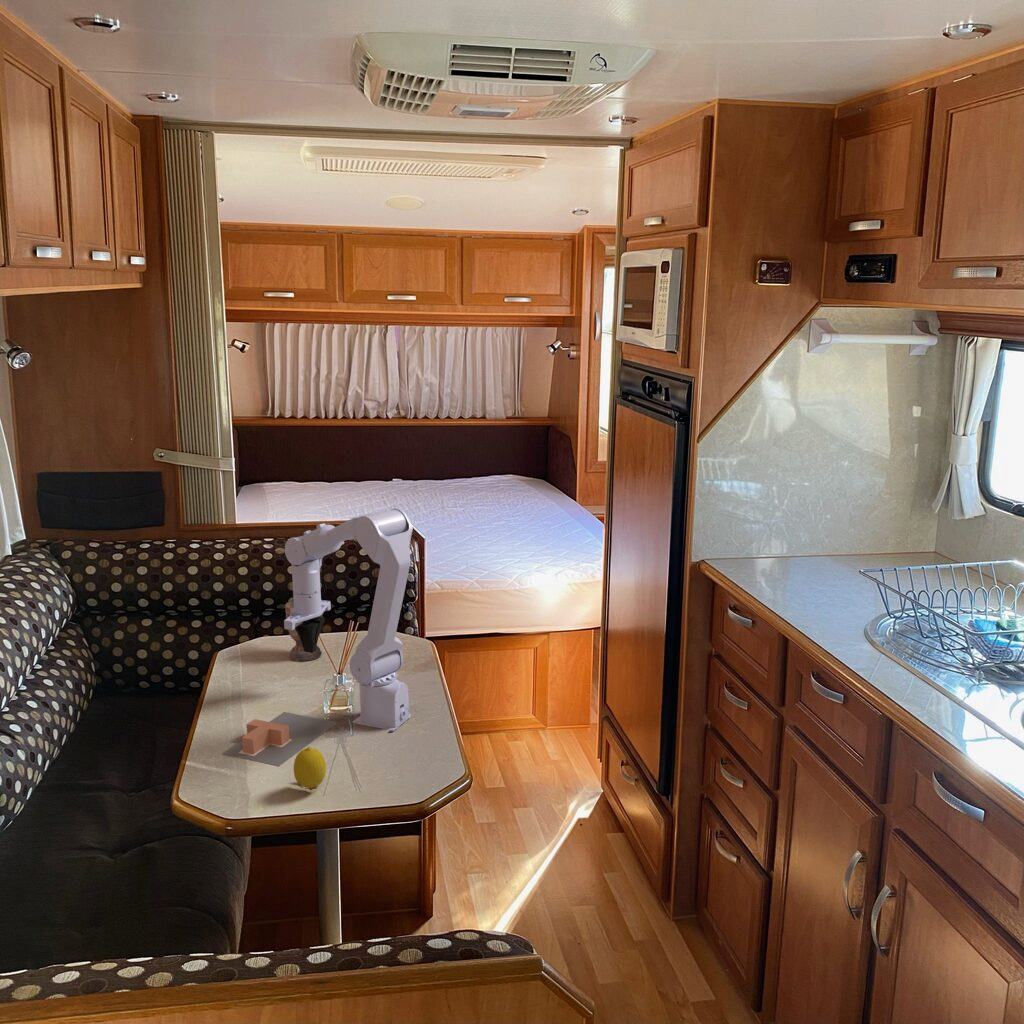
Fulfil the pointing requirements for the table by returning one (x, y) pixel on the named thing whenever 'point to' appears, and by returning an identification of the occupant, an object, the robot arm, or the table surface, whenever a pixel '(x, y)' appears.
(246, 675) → the table surface
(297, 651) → the mortar and pestle
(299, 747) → the slate board
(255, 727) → the t block
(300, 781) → the lemon
